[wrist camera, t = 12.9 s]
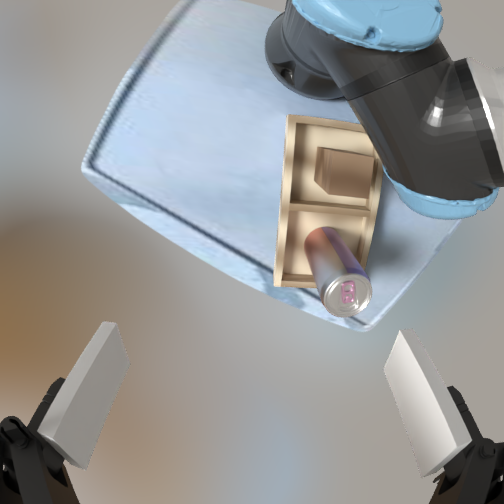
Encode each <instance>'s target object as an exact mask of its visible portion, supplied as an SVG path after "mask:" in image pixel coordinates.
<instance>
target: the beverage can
mask: <svg viewBox="0 0 504 504" xmlns="http://www.w3.org/2000/svg"><path fill="white" fill-rule="evenodd" d="M304 252H305V254H306V257H307V260H308V263H309V266H310V269H311V272H312V275H313V278H314V280H315V283H316V286H317V289H318V292H319V295H320V298H321V301H322V304H323V305H324V306H325V308H326V309H327V311H328V312H329V313H331V314H332V315H334V316H337V317H350V316H354V315H356V314H358V313H359V312H361V311H362V310H363V309H364V308H365V307H366V306H367V305H368V303H369V302H370V300H371V297H372V286H371V283H370V280H369V277H368V276H367V274H366V273H365V271H364V270H363V268H362V267H361V265H360V264H359V262H358V261H357V259H356V258H355V256H354V255H353V254H352V252H351V251H350V249H349V248H348V246H347V245H346V244H345V242H344V241H343V239H342V238H341V237H340V235H339V234H338V233H337V232H336V231H335V230H334V229H332V228H329V227H320V228H317V229H315V230H313V231H312V232H310V233H309V234H308V236H307V237H306V239H305V242H304Z"/></svg>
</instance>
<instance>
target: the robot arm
mask: <svg viewBox="0 0 504 504" xmlns="http://www.w3.org/2000/svg"><path fill="white" fill-rule="evenodd" d="M441 11H442V7H441V4H440V2H439V0H287V2H286V8H285V12H283V13H282V14H280V15H279V16H278V17H277V18H276V19H275V20H274V21H273V23H272V24H271V26H270V27H269V29H268V32H267V35H266V40H265V55H266V60H267V63H268V65H269V67H270V69H271V71H272V72H273V74H274V75H275V77H276V78H277V79H278V80H279V81H280V82H281V83H282V84H283V85H284V86H286V87H287V88H288V89H290V90H292V91H293V92H295V93H297V94H299V95H302V96H305V97H308V98H312V99H319V100H329V99H336V98H340V97H343V96H345V98H346V99H347V102H348V103H349V105H350V107H351V108H352V110H353V111H354V113H355V115H356V116H357V118H358V120H359V121H360V123H361V125H362V127H363V128H364V130H365V132H366V134H367V135H368V137H369V139H370V141H371V143H372V144H373V146H374V148H375V150H376V152H377V154H378V156H379V158H380V160H381V162H382V167H383V170H384V172H385V174H386V176H387V177H388V178H389V179H390V181H391V182H392V183H393V185H394V187H395V189H396V191H397V193H398V195H399V197H400V198H401V200H402V201H403V202H404V203H405V204H406V205H407V206H408V207H409V208H410V209H412V210H413V211H415V212H417V213H419V214H421V215H423V216H426V217H430V218H435V219H444V220H454V219H462V218H467V217H471V216H474V215H476V212H477V210H482V211H484V210H486V209H487V208H488V207H490V206H491V205H492V204H493V203H494V201H495V199H496V198H497V195H498V191H499V187H504V67H501V68H496V69H494V68H489V67H487V66H485V65H484V64H482V63H480V62H478V61H476V60H475V59H473V58H471V57H469V58H464V59H461V60H458V61H452V60H451V58H450V56H449V55H448V53H447V51H446V49H445V48H444V46H443V44H442V42H441V41H440V39H439V37H438V36H439V34H440V32H441V30H442V27H443V17H442V16H441V15H440V12H441ZM129 366H130V361H129V359H128V356H127V353H126V350H125V347H124V344H123V341H122V338H121V335H120V332H119V329H118V326H117V324H116V323H112V322H103V323H102V324H101V325H100V327H99V328H98V330H97V331H96V333H95V334H94V336H93V337H92V339H91V340H90V342H89V343H88V345H87V346H86V348H85V350H84V351H83V353H82V354H81V356H80V357H79V359H78V361H77V362H76V364H75V365H74V367H73V369H72V370H71V372H70V374H69V375H68V377H67V378H66V379H63V378H61V377H60V378H59V379H57V381H55V382H54V383H53V384H52V385H51V386H50V388H49V390H48V391H47V394H46V395H45V396H44V398H43V401H42V402H41V403H40V405H39V406H38V408H37V410H36V412H35V414H34V415H33V417H32V419H31V421H30V423H29V424H28V426H27V427H26V426H25V425H24V424H23V423H22V422H21V420H20V419H19V418H17V417H15V416H8V417H6V418H4V419H3V421H2V422H1V423H0V504H80V503H79V501H78V499H77V496H76V494H75V491H74V489H73V486H72V484H71V481H70V478H69V476H68V473H67V470H66V467H65V466H64V464H63V462H64V459H66V460H67V461H68V462H69V463H70V464H71V465H74V466H76V467H78V468H81V469H83V470H86V469H87V467H88V464H89V461H90V458H91V456H92V453H93V451H94V448H95V445H96V443H97V440H98V438H99V435H100V433H101V430H102V428H103V426H104V423H105V420H106V418H107V416H108V414H109V411H110V409H111V406H112V404H113V402H114V399H115V397H116V395H117V393H118V390H119V388H120V386H121V384H122V381H123V379H124V377H125V375H126V373H127V370H128V368H129ZM383 371H384V373H385V376H386V378H387V381H388V383H389V386H390V388H391V391H392V393H393V396H394V399H395V401H396V404H397V407H398V409H399V412H400V415H401V417H402V420H403V423H404V426H405V428H406V432H407V434H408V437H409V440H410V443H411V446H412V449H413V453H414V456H415V458H416V462H417V465H418V469H419V472H420V475H421V478H422V477H425V476H428V475H431V474H433V473H436V472H437V471H438V470H440V469H441V468H442V467H444V470H445V471H444V472H443V473H441V474H440V475H439V476H437V477H436V478H435V479H434V481H433V483H435V482H436V481H438V480H439V479H440V480H439V482H438V483H437V484H438V485H437V487H436V489H435V492H434V494H433V496H432V499H431V500H430V502H429V504H504V442H503V443H494V442H493V441H492V440H491V439H488V438H483V437H482V435H481V433H480V431H479V429H478V427H477V425H476V423H475V421H474V419H473V417H472V415H471V413H470V411H469V410H468V407H467V405H466V404H465V401H464V399H463V397H462V395H461V393H460V392H459V391H458V390H457V389H455V388H454V387H453V386H450V387H446V385H445V383H444V382H443V380H442V378H441V376H440V374H439V372H438V371H437V369H436V367H435V366H434V364H433V362H432V360H431V358H430V357H429V355H428V353H427V352H426V350H425V348H424V346H423V345H422V343H421V341H420V340H419V338H418V336H417V335H416V333H415V331H414V330H413V329H404V330H400V331H399V333H398V336H397V339H396V341H395V343H394V346H393V348H392V351H391V353H390V356H389V358H388V360H387V362H386V365H385V367H384V369H383ZM3 465H5V468H4V470H3ZM502 475H503V480H502V481H501V480H500V476H502Z"/></svg>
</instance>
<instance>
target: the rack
mask: <svg viewBox="0 0 504 504" xmlns="http://www.w3.org/2000/svg"><path fill="white" fill-rule="evenodd" d="M317 147H325V148H333V149H340V150H347V151H352V152H356V153H360V154H364V155H367V156H371V157H374V164H373V172H372V179H371V186H370V193H369V199H363V198H355V197H346V196H337V195H328V194H327V193H326V192H325V191H324V190H323V189H322V188H321V187H320V186H319V185H318V184H317V183H316V182H315V181H314V174H315V163H316V152H317ZM383 171H384V170H383V167H382V162H381V160H380V158H379V156H378V154H377V152H376V150H375V148H374V146H373V144H372V143H371V141H370V139H369V137H368V135H367V134H366V132H365V130H364V128H363V127H362V125H361V124H355V123H350V122H344V121H338V120H331V119H324V118H317V117H309V116H300V115H290V114H289V115H287V116H286V130H285V145H284V158H283V172H282V184H281V196H280V208H279V220H278V231H277V242H276V253H275V263H274V273H273V279H274V286H278V287H300V288H317V286H316V283H315V280H314V278H313V275H312V272H311V269H310V266H309V263H308V260H307V257H306V254H305V252H304V242H305V239H306V237H307V236H308V234H309V233H310V232H312V231H313V230H315V229H317V228H320V227H329V228H332V229H334V230H335V231H336V232H337V233H338V234H339V235H340V237H341V238H342V239H343V241H344V242H345V244H346V245H347V246H348V248H349V249H350V251H351V252H352V254H353V255H354V256H355V258H356V259H357V261H358V262H359V264H360V265H361V267H362V268H363V270H364V271H365V267H366V263H367V258H368V254H369V249H370V245H371V240H372V235H373V230H374V225H375V220H376V215H377V209H378V204H379V198H380V191H381V185H382V178H383Z"/></svg>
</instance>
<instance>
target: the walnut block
mask: <svg viewBox="0 0 504 504" xmlns="http://www.w3.org/2000/svg"><path fill="white" fill-rule="evenodd" d="M373 164H374V157H371V156H367V155H364V154H360V153H356V152H352V151H347V150H340V149H333V148H325V147H317V152H316V163H315V174H314V181H315V182H316V183H317V184H318V185H319V186H320V187H321V188H322V189H323V190H324V191H325V192H326V193H327V194H328V195H337V196H346V197H355V198H363V199H369V193H370V186H371V179H372V172H373Z"/></svg>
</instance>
